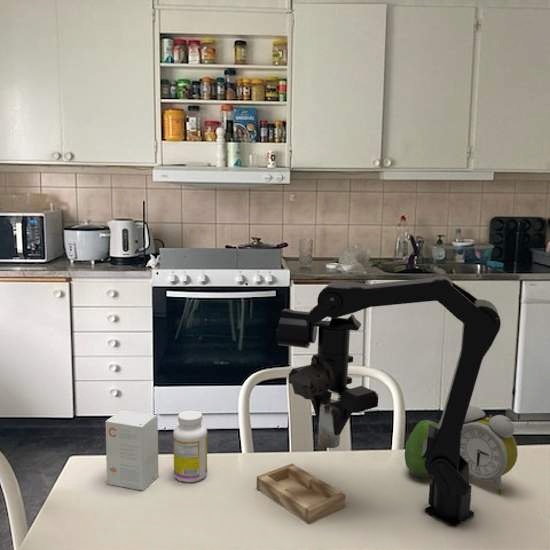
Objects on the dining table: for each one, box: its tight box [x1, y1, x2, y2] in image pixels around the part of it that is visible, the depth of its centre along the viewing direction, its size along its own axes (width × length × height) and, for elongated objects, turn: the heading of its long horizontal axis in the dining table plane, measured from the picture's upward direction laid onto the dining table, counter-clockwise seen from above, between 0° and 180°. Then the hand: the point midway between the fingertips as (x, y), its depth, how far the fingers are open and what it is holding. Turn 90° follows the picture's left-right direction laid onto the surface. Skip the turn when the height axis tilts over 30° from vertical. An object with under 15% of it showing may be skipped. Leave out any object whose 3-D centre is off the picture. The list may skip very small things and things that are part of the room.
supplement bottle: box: [172, 410, 208, 483], centre depth 120 cm, size 7×7×13 cm
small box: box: [104, 409, 160, 491], centre depth 118 cm, size 8×6×13 cm
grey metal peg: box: [317, 398, 341, 449], centre depth 114 cm, size 4×4×8 cm
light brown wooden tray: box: [256, 463, 347, 525], centre depth 114 cm, size 15×9×2 cm, turn 39°
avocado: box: [403, 419, 438, 479], centre depth 123 cm, size 8×8×12 cm
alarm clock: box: [460, 404, 519, 494], centre depth 121 cm, size 12×7×15 cm, turn 42°
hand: (329, 430), depth 114 cm, fingers closed on grey metal peg, 4 cm apart
